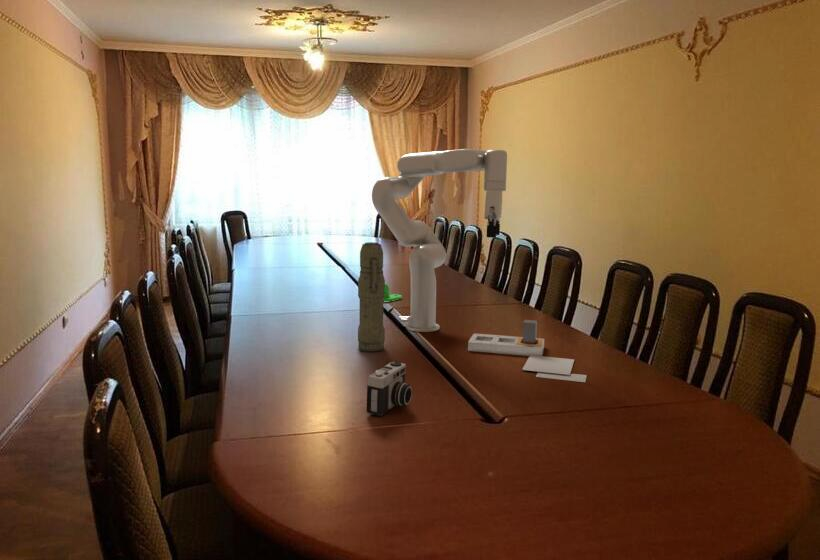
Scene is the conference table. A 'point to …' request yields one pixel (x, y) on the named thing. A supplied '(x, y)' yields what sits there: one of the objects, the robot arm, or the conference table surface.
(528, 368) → the paper stack
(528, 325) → the peg
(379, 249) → the stone statue
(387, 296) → the mechanical part
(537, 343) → the white compartment tray
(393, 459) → the conference table surface
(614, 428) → the conference table surface
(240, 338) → the conference table surface
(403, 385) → the camera
